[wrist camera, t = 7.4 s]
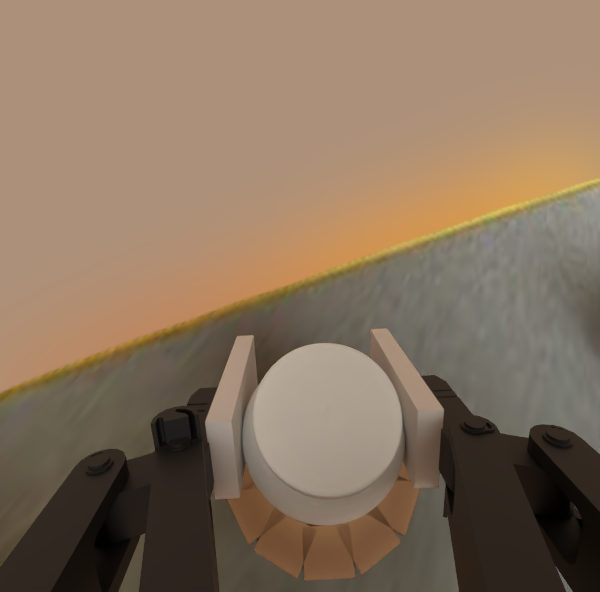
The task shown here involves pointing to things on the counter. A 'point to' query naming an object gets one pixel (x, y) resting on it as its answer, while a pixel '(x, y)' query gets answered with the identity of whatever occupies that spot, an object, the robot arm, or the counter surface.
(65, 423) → the counter surface
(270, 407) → the pill bottle
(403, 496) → the brown segmented ring
